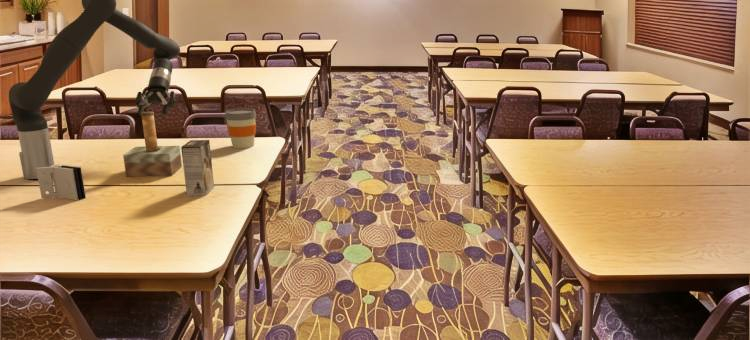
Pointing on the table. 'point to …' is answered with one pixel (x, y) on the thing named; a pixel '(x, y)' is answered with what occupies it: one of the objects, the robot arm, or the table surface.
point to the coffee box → (197, 167)
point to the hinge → (61, 182)
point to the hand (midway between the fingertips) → (152, 114)
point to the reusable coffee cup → (241, 127)
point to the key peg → (149, 131)
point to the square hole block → (152, 161)
